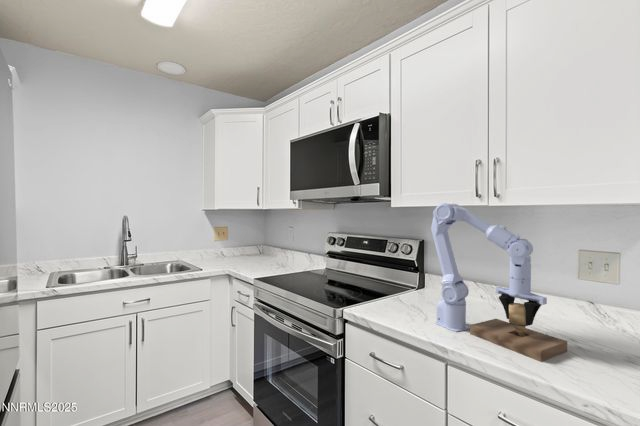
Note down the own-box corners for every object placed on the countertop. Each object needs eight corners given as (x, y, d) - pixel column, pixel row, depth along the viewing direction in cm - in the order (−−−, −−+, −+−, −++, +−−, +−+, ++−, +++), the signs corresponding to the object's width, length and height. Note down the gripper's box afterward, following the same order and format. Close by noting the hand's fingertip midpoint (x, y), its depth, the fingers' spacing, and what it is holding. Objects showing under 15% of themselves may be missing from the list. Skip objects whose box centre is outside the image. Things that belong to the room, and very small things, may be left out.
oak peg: (505, 329, 101) (504, 304, 101) (515, 326, 104) (515, 301, 104) (523, 336, 96) (522, 309, 96) (533, 332, 99) (533, 306, 99)
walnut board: (470, 333, 107) (470, 324, 107) (496, 326, 114) (496, 318, 114) (540, 361, 88) (541, 350, 88) (567, 351, 95) (567, 341, 95)
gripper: (489, 275, 104) (489, 316, 105) (537, 284, 92) (536, 331, 92) (503, 273, 108) (502, 313, 108) (550, 281, 95) (550, 327, 95)
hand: (519, 321), depth 100 cm, fingers closed on oak peg, 5 cm apart
